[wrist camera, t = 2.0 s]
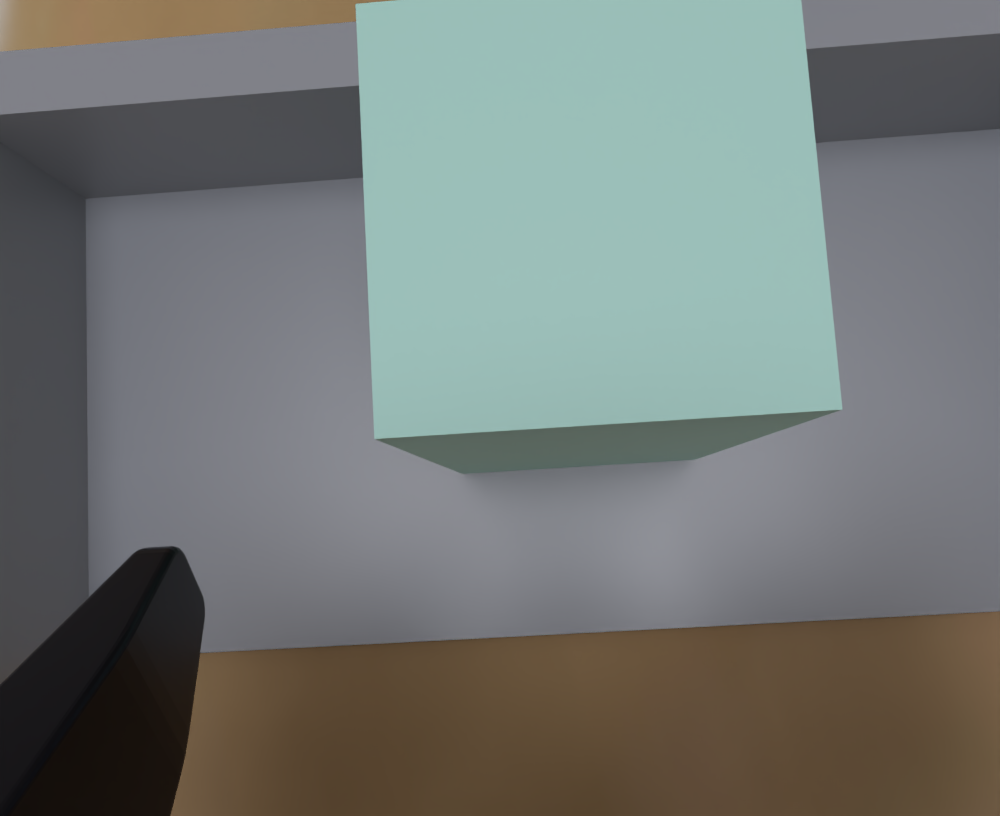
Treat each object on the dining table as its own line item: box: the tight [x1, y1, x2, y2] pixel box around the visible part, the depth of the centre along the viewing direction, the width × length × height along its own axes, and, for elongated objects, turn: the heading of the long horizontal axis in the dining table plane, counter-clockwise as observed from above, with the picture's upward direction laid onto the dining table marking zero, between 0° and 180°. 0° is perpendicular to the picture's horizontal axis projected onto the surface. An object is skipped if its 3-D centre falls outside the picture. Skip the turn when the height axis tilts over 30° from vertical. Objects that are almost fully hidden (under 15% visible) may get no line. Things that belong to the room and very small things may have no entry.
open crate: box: [0, 0, 1000, 684], centre depth 18 cm, size 12×24×5 cm, turn 93°
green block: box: [356, 0, 843, 474], centre depth 15 cm, size 5×5×10 cm
